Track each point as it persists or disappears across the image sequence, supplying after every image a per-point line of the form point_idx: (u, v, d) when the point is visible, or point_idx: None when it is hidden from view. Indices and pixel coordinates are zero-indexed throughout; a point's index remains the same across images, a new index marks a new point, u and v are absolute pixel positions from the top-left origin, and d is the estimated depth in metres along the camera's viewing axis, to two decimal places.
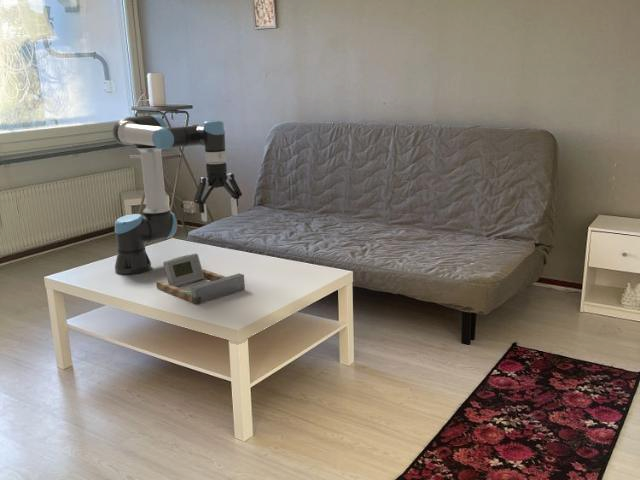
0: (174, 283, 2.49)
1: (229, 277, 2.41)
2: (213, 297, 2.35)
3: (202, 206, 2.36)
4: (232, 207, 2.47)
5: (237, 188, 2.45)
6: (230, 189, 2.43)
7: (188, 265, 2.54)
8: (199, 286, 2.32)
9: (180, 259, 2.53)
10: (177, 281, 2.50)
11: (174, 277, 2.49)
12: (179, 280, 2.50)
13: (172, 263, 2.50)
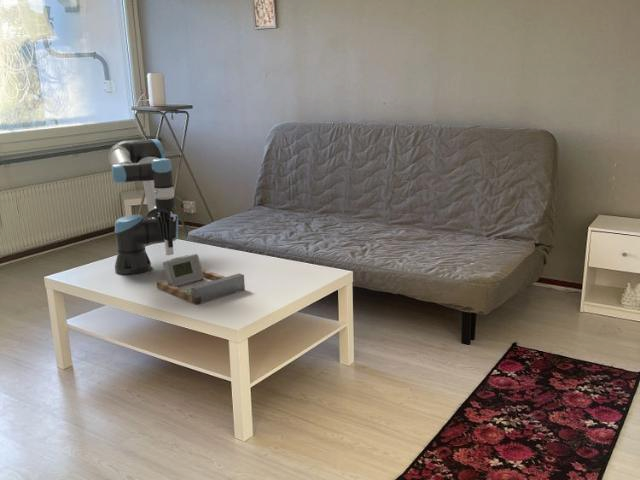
0: (174, 283, 2.49)
1: (229, 277, 2.41)
2: (213, 297, 2.35)
3: (165, 240, 2.59)
4: None
5: (169, 230, 2.54)
6: (166, 228, 2.55)
7: (188, 265, 2.54)
8: (199, 286, 2.32)
9: (180, 259, 2.52)
10: (177, 281, 2.50)
11: (174, 277, 2.49)
12: (179, 280, 2.50)
13: (172, 263, 2.50)
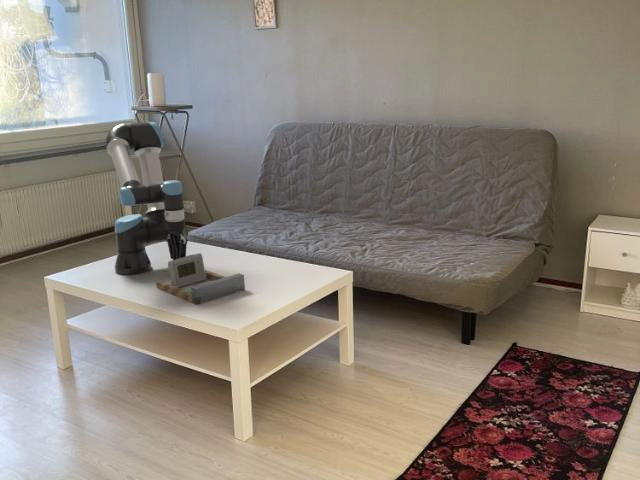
0: (177, 284, 2.47)
1: (229, 277, 2.41)
2: (213, 297, 2.35)
3: None
4: None
5: (179, 253, 2.51)
6: (176, 250, 2.52)
7: (192, 266, 2.52)
8: (199, 286, 2.32)
9: (185, 259, 2.50)
10: (180, 282, 2.48)
11: (177, 278, 2.47)
12: (182, 281, 2.49)
13: (177, 263, 2.47)
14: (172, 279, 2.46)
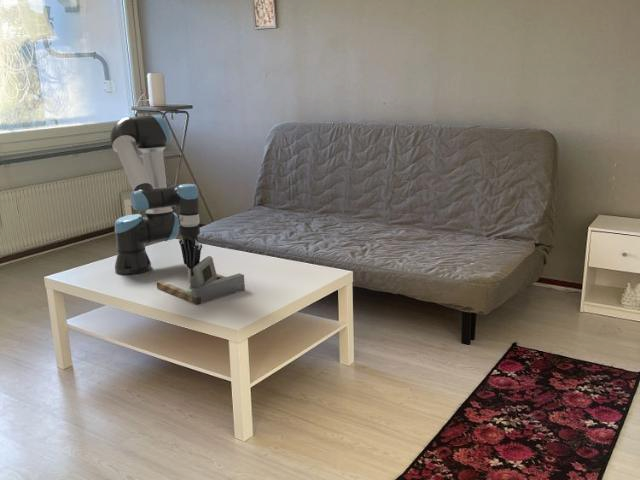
0: None
1: (229, 277, 2.41)
2: (213, 297, 2.35)
3: None
4: None
5: (193, 259, 2.44)
6: (190, 256, 2.45)
7: (209, 269, 2.48)
8: (199, 286, 2.32)
9: (204, 263, 2.44)
10: None
11: None
12: None
13: (201, 268, 2.41)
14: None
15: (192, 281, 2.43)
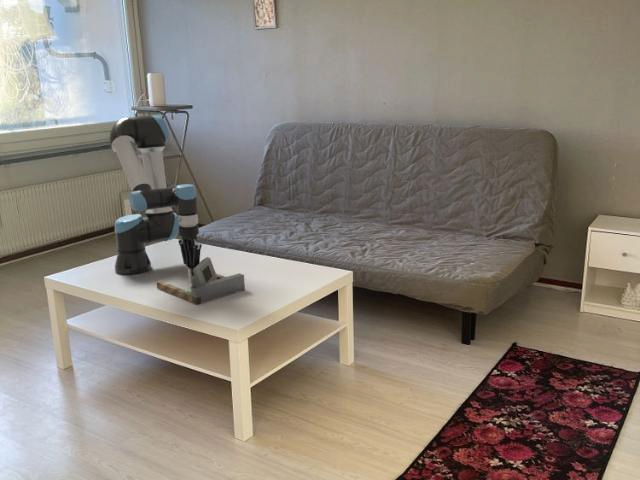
0: None
1: (229, 277, 2.41)
2: (213, 297, 2.35)
3: (188, 268, 2.50)
4: None
5: (193, 259, 2.45)
6: (189, 256, 2.46)
7: (208, 269, 2.47)
8: (199, 286, 2.32)
9: (203, 264, 2.44)
10: None
11: None
12: None
13: (201, 268, 2.41)
14: None
15: (193, 283, 2.43)
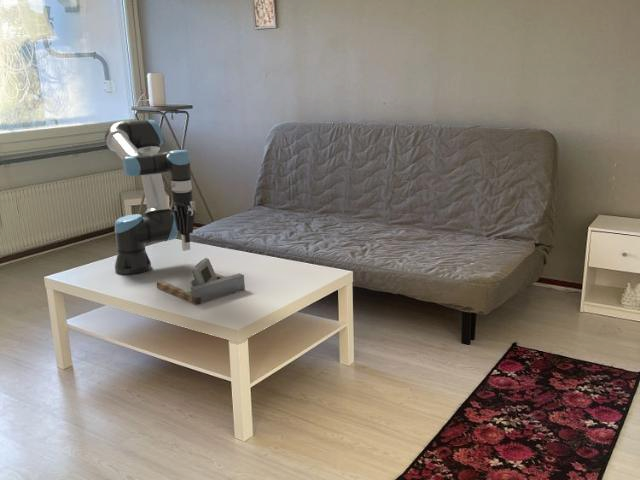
0: None
1: (229, 277, 2.41)
2: (213, 297, 2.35)
3: None
4: None
5: (187, 225, 2.44)
6: (183, 222, 2.45)
7: (207, 270, 2.47)
8: (199, 286, 2.32)
9: (202, 265, 2.44)
10: None
11: None
12: None
13: (199, 269, 2.41)
14: None
15: (193, 284, 2.43)
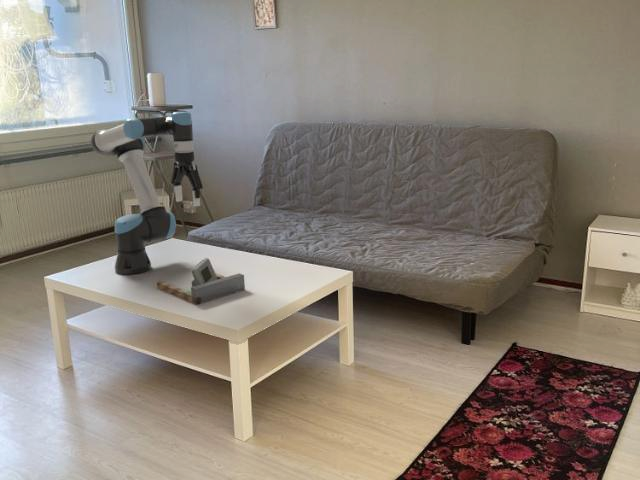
0: None
1: (229, 277, 2.41)
2: (213, 297, 2.35)
3: None
4: None
5: (194, 181, 2.49)
6: (190, 179, 2.51)
7: (207, 270, 2.47)
8: (199, 286, 2.32)
9: (202, 265, 2.44)
10: None
11: None
12: None
13: (199, 269, 2.41)
14: None
15: (193, 284, 2.43)
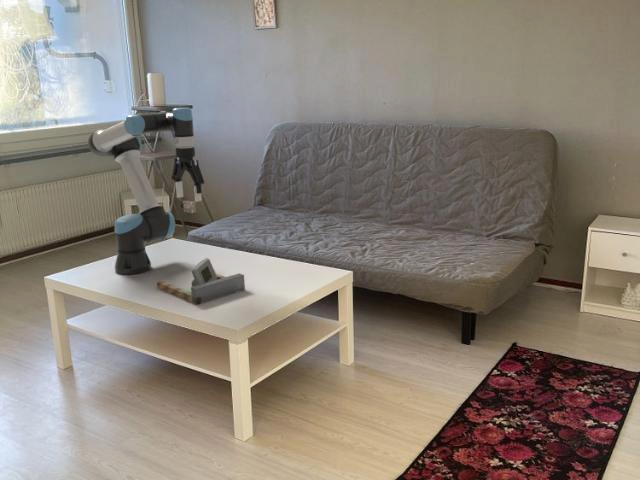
0: None
1: (229, 277, 2.41)
2: (213, 297, 2.35)
3: (176, 183, 2.63)
4: None
5: (195, 176, 2.51)
6: (191, 175, 2.53)
7: (207, 270, 2.47)
8: (199, 286, 2.32)
9: (202, 265, 2.44)
10: None
11: None
12: None
13: (200, 269, 2.41)
14: None
15: (193, 284, 2.43)
